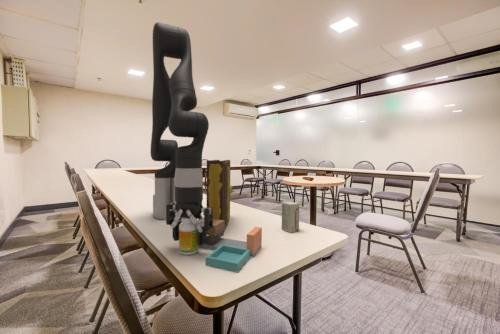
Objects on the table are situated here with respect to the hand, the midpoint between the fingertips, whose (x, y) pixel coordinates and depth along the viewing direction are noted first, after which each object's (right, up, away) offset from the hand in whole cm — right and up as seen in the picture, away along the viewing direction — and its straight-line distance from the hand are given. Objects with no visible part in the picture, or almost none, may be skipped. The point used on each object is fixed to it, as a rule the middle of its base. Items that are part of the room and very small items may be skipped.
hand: (189, 242), depth 62 cm
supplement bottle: (0, -3, 0) cm, 3 cm away
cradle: (+12, -3, -5) cm, 13 cm away
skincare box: (+32, -2, +19) cm, 37 cm away
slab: (+4, -1, +6) cm, 7 cm away
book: (+5, -1, +25) cm, 25 cm away
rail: (+9, -2, +4) cm, 11 cm away
